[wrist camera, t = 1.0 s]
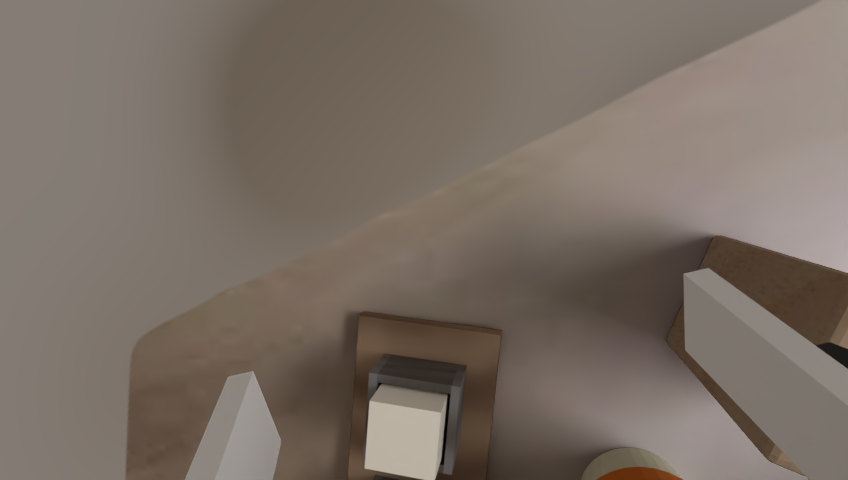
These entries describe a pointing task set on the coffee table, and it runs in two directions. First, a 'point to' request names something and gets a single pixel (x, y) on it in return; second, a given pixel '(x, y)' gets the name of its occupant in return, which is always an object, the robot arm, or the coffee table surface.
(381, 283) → the coffee table surface
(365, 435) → the console
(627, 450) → the reusable coffee cup
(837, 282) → the wooden block
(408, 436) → the cream button
